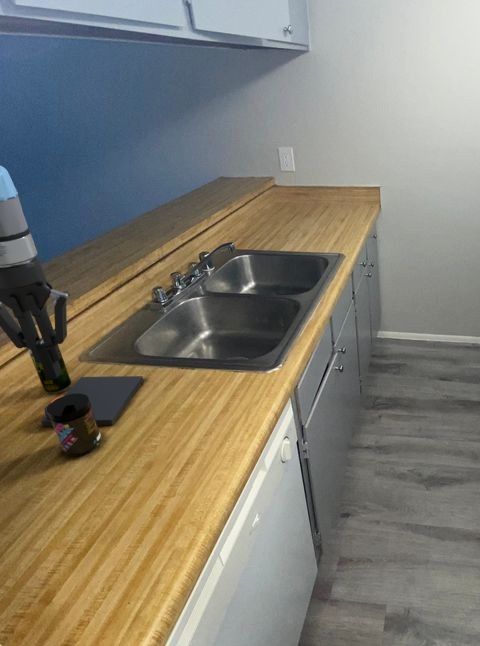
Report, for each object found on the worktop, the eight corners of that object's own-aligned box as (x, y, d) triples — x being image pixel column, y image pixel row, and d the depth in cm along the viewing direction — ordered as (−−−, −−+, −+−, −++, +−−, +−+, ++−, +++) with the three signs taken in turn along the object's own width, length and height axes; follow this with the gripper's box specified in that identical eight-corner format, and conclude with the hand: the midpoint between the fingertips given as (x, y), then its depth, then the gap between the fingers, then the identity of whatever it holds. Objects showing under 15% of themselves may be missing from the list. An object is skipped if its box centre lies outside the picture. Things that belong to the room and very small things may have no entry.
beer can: (51, 381, 112) (34, 338, 107) (76, 380, 113) (61, 337, 108) (40, 395, 108) (22, 351, 102) (66, 393, 109) (49, 349, 103)
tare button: (50, 412, 99) (47, 405, 98) (58, 402, 102) (56, 396, 101) (66, 411, 99) (63, 405, 98) (74, 402, 102) (71, 395, 101)
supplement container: (65, 439, 96) (49, 398, 91) (104, 430, 99) (90, 390, 94) (60, 461, 91) (43, 419, 86) (101, 451, 93) (86, 410, 88)
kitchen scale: (42, 426, 99) (37, 415, 97) (82, 381, 113) (79, 371, 112) (112, 425, 100) (109, 414, 99) (143, 380, 114) (140, 370, 113)
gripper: (-47, 271, 75) (6, 391, 86) (49, 265, 78) (88, 381, 89) (-25, 255, 81) (22, 369, 92) (62, 250, 85) (98, 360, 96)
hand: (55, 374), depth 91 cm, fingers closed
